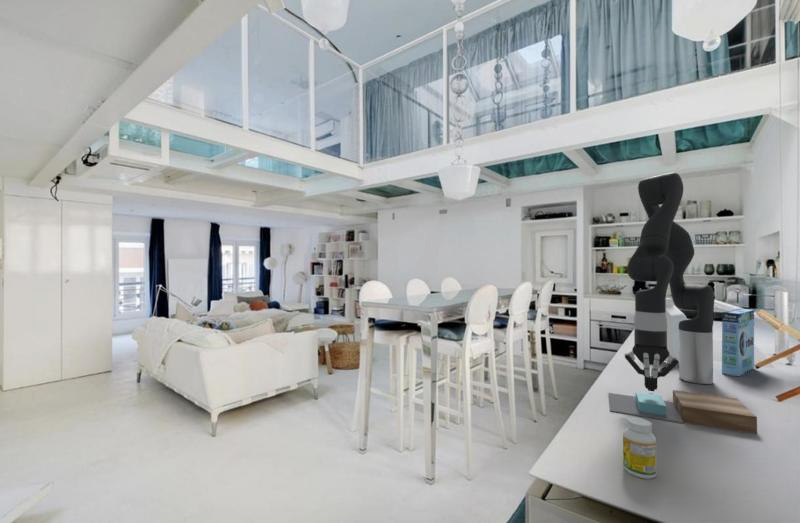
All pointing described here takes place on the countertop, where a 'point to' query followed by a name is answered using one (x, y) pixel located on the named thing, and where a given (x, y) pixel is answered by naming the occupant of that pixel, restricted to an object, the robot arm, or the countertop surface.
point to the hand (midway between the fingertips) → (650, 390)
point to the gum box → (737, 341)
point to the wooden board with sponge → (714, 411)
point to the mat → (630, 407)
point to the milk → (673, 328)
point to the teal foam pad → (650, 403)
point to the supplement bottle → (639, 448)
